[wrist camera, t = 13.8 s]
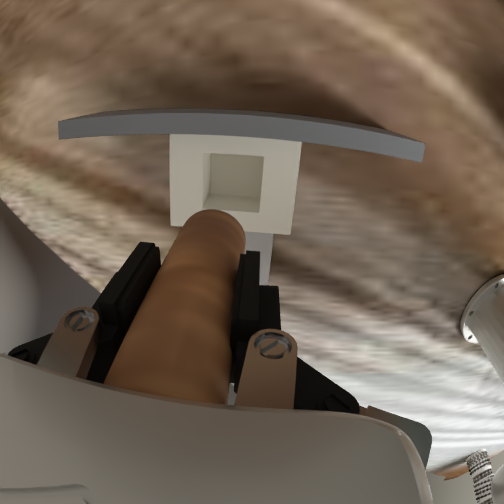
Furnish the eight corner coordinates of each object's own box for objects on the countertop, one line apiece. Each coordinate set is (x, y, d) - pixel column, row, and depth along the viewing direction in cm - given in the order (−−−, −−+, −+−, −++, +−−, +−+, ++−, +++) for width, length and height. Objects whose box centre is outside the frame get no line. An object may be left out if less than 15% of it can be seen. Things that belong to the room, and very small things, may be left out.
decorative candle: (460, 463, 71) (475, 517, 49) (473, 452, 66) (490, 508, 44) (477, 457, 71) (492, 508, 49) (490, 445, 66) (508, 499, 44)
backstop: (387, 130, 26) (425, 143, 19) (352, 290, 35) (369, 337, 28) (103, 112, 26) (58, 121, 19) (116, 270, 35) (88, 311, 28)
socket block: (295, 131, 26) (302, 138, 22) (286, 213, 30) (290, 235, 26) (185, 124, 26) (169, 130, 22) (184, 205, 30) (170, 225, 26)
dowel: (247, 211, 14) (224, 399, 6) (243, 270, 16) (224, 458, 7) (180, 207, 14) (80, 373, 6) (182, 265, 16) (115, 439, 7)
